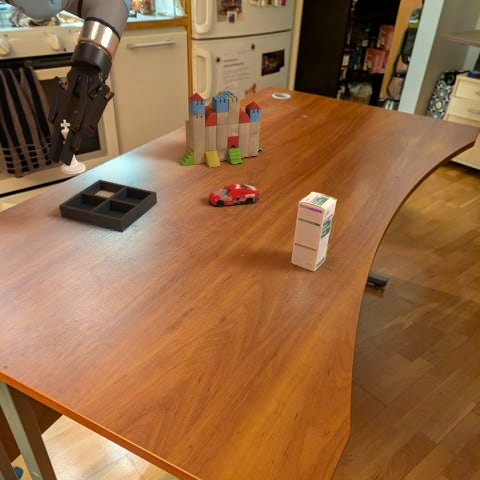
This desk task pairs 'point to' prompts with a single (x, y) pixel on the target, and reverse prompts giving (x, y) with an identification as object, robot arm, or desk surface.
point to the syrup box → (313, 230)
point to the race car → (234, 195)
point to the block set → (221, 130)
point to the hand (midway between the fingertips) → (58, 161)
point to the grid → (108, 205)
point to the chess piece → (75, 165)
